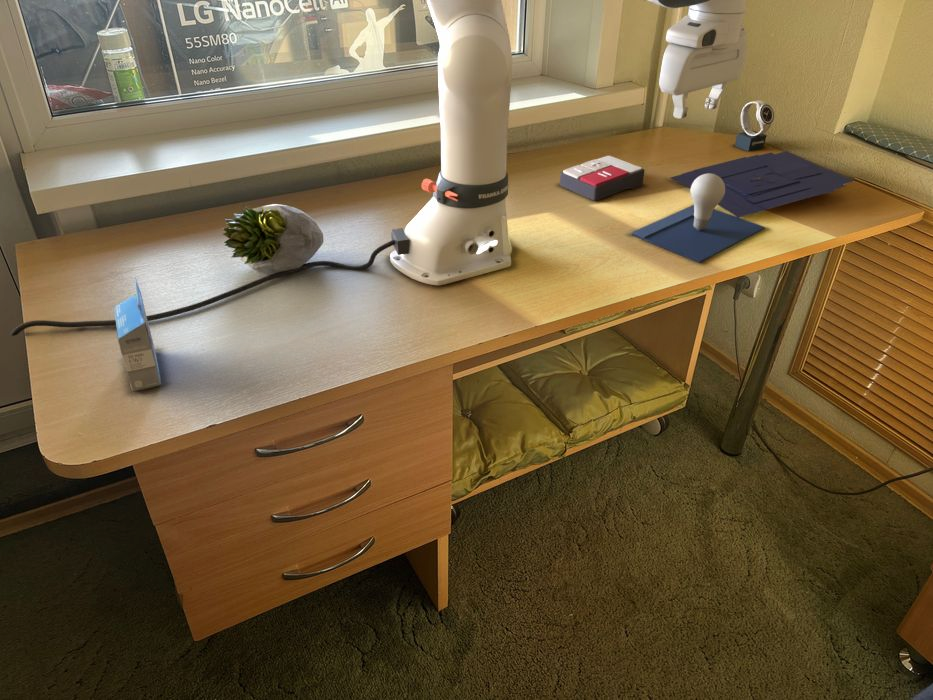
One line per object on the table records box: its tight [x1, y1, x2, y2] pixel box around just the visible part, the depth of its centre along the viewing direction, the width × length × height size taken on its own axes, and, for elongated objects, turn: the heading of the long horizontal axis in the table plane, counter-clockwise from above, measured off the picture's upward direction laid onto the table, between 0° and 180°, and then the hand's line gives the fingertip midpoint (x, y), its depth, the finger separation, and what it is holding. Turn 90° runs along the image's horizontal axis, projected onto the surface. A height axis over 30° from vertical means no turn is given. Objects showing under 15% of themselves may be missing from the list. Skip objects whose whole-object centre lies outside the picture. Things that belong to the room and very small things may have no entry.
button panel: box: [559, 155, 646, 202], centre depth 154 cm, size 11×4×15 cm
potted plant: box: [222, 203, 324, 276], centre depth 118 cm, size 12×13×15 cm
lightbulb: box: [689, 173, 725, 231], centre depth 132 cm, size 6×6×11 cm
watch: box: [734, 100, 775, 152], centre depth 174 cm, size 6×8×11 cm
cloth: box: [631, 204, 766, 264], centre depth 135 cm, size 22×15×1 cm
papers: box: [669, 150, 856, 218], centre depth 152 cm, size 24×30×4 cm
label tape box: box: [113, 275, 162, 392], centre depth 93 cm, size 9×4×12 cm, turn 25°
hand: (695, 112), depth 126 cm, fingers open, 8 cm apart
